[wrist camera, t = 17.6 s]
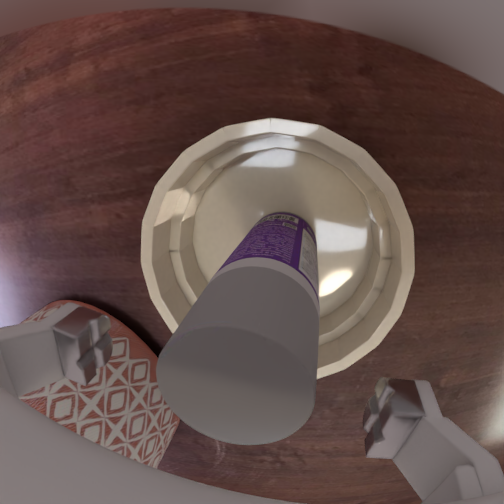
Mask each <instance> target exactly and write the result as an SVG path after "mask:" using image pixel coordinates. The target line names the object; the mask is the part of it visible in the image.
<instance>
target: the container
mask: <svg viewBox="0 0 504 504" xmlns="http://www.w3.org/2000/svg"><path fill="white" fill-rule="evenodd" d="M319 319H320V302H319V278H318V258H317V243H316V237H315V234H314V231H313V229H312V228H311V226H310V225H309V224H308V223H307V221H305V220H304V219H303V218H302V217H300V216H298V215H296V214H294V213H290V212H274V213H271V214H268V215H266V216H264V217H263V218H261V219H260V220H259V221H258V222H257V223H256V224H255V225H254V227H253V228H252V229H251V230H250V231H249V233H248V234H247V235H246V236H245V238H244V239H243V240H242V241H241V243H240V244H239V245H238V246H237V248H236V249H235V250H234V251H233V252H232V254H231V255H230V256H229V257H228V259H227V260H226V261H225V262H224V264H223V265H222V266H221V267H220V269H219V270H218V271H217V272H216V274H215V275H214V276H213V277H212V279H211V280H210V282H209V283H208V285H207V286H206V288H205V289H204V291H203V292H202V293H201V295H200V296H199V298H198V299H197V301H196V302H195V303H194V305H193V306H192V308H191V309H190V311H189V312H188V313H187V315H186V316H185V318H184V319H183V321H182V322H181V323H180V325H179V326H178V328H177V329H176V331H175V332H174V333H173V335H172V336H171V338H170V339H169V341H168V342H167V344H166V345H165V346H164V348H163V349H162V351H161V353H160V355H159V358H158V361H157V366H156V378H157V383H158V387H159V390H160V392H161V394H162V396H163V398H164V400H165V402H166V403H167V405H168V406H169V407H170V409H171V410H172V411H173V412H174V413H175V414H176V415H177V416H178V417H179V418H180V419H181V420H182V421H183V422H185V423H186V424H187V425H189V426H190V427H192V428H193V429H195V430H197V431H198V432H200V433H202V434H204V435H206V436H209V437H211V438H214V439H217V440H220V441H223V442H227V443H233V444H240V445H260V444H267V443H271V442H275V441H278V440H281V439H283V438H286V437H288V436H290V435H291V434H293V433H294V432H296V431H297V430H298V429H300V428H301V427H302V426H303V425H304V424H305V423H306V421H307V420H308V418H309V417H310V415H311V413H312V411H313V408H314V404H315V396H316V381H317V365H318V345H319Z"/></svg>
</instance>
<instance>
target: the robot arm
mask: <svg viewBox="0 0 504 504" xmlns="http://www.w3.org/2000/svg"><path fill="white" fill-rule="evenodd" d="M110 329H111V323H110V318H109V317H108V316H107V315H105V314H102V313H99V312H96V311H94V310H91V309H88V308H86V307H82V306H80V305H78V304H75V303H72V302H68V303H66V304H65V305H63V306H62V307H60V308H59V309H57V310H56V311H54V312H53V313H52V314H50V315H49V316H47V317H46V318H44V319H43V320H42V321H40V322H39V323H38V322H36V321H34V322H29V323H23V324H18V325H13V326H7V327H2V328H0V504H306V503H297V502H290V501H283V500H276V499H270V498H264V497H259V496H253V495H248V494H243V493H239V492H234V491H230V490H226V489H222V488H218V487H214V486H210V485H206V484H203V483H199V482H196V481H192V480H189V479H186V478H183V477H179V476H176V475H173V474H170V473H167V472H164V471H162V470H159V469H156V468H153V467H151V466H148V465H145V464H143V463H140V462H138V461H135V460H133V459H130V458H128V457H126V456H123V455H121V454H119V453H116V452H114V451H112V450H110V449H107V448H105V447H103V446H101V445H99V444H97V443H95V442H93V441H91V440H89V439H87V438H85V437H83V436H81V435H79V434H77V433H75V432H73V431H71V430H69V429H68V428H66V427H64V426H62V425H60V424H59V423H57V422H55V421H53V420H52V419H50V418H48V417H47V416H45V415H43V414H42V413H40V412H38V411H37V410H35V409H34V408H32V407H30V406H29V405H27V404H26V403H24V402H23V401H21V400H20V399H19V396H22V395H24V394H27V393H30V392H32V391H35V390H37V389H40V388H42V387H45V386H47V385H49V384H52V383H54V382H57V381H59V380H62V379H64V377H65V378H68V379H70V380H72V381H74V382H76V383H79V384H81V385H83V386H86V385H87V384H88V383H89V382H90V381H91V380H92V379H93V378H94V377H95V376H96V375H97V370H96V369H97V368H100V367H103V366H105V365H106V364H107V362H108V361H109V359H110V357H111V355H112V350H113V341H112V338H111V337H110V335H109V334H108V331H109V330H110ZM375 394H376V395H374V396H373V397H371V398H370V399H369V400H368V403H367V405H366V407H365V411H364V415H363V429H364V430H365V431H366V432H367V433H368V435H367V436H366V438H365V451H366V457H370V458H384V459H393V461H394V463H395V464H396V465H397V467H398V468H399V470H400V471H401V472H402V474H403V475H404V476H405V478H406V479H407V480H408V482H409V483H410V484H411V486H412V487H413V489H414V490H415V491H416V493H417V494H418V495H419V497H420V498H421V499H422V501H423V502H422V503H421V504H504V475H503V472H502V470H501V467H500V464H499V462H498V459H496V458H495V457H494V456H493V455H492V454H490V453H489V452H488V451H487V450H486V449H484V448H483V447H482V446H481V445H480V444H478V443H477V442H476V441H475V440H474V439H472V438H471V437H470V436H469V435H468V434H466V433H465V432H464V431H463V430H462V429H460V428H459V427H458V426H457V425H456V424H454V423H453V422H452V421H451V420H450V419H448V418H447V417H442V414H441V411H440V409H439V406H438V403H437V401H436V398H435V395H434V393H433V390H432V388H431V385H430V383H429V382H428V381H427V380H404V379H394V378H384V377H381V378H380V379H379V380H378V381H377V383H376V385H375Z"/></svg>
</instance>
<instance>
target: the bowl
mask: <svg viewBox="0 0 504 504" xmlns="http://www.w3.org/2000/svg"><path fill="white" fill-rule="evenodd" d="M274 212H290V213H294V214H296V215H298V216H300V217H302V218H303V219H304V220H305V221H307V223H308V224H309V225H310V226H311V228H312V229H313V231H314V234H315V237H316V243H317V258H318V278H319V302H320V319H319V345H318V365H317V379H319V378H322V377H324V376H327V375H330V374H333V373H336V372H339V371H342V370H344V369H346V368H348V367H349V366H351V365H352V364H353V363H355V362H356V361H358V360H359V359H360V358H362V357H363V356H365V355H366V354H367V353H369V352H370V351H371V350H373V349H374V348H376V347H377V346H378V345H379V344H380V343H381V341H382V340H383V339H384V337H385V336H386V335H387V333H388V332H389V331H390V329H391V328H392V327H393V325H394V324H395V322H396V321H397V320H398V318H399V317H400V316H401V314H402V311H403V308H404V305H405V302H406V299H407V296H408V293H409V290H410V287H411V284H412V281H413V277H414V273H415V252H414V230H413V226H412V223H411V220H410V218H409V215H408V212H407V210H406V207H405V205H404V202H403V200H402V197H401V195H400V192H399V190H398V188H397V186H396V184H395V183H394V182H393V181H392V179H391V178H390V177H389V176H388V175H387V174H386V172H385V171H384V170H383V169H382V168H381V167H380V166H379V164H378V163H377V162H376V161H375V160H374V159H373V158H372V157H371V156H370V155H369V153H368V152H367V151H366V150H365V149H363V148H362V147H360V146H358V145H356V144H355V143H353V142H351V141H349V140H347V139H346V138H344V137H342V136H340V135H338V134H336V133H335V132H333V131H331V130H329V129H327V128H325V127H323V126H320V125H317V124H312V123H306V122H299V121H293V120H286V119H279V118H265V119H259V120H254V121H249V122H244V123H239V124H234V125H229V126H225V127H224V128H220V129H219V130H217V131H215V132H214V133H212V134H210V135H208V136H207V137H205V138H203V139H202V140H200V141H198V142H197V143H195V144H193V145H192V146H190V147H189V148H187V149H185V151H183V152H182V153H181V155H180V156H179V157H178V158H177V159H176V160H175V162H174V163H173V164H172V165H171V167H170V168H169V169H168V170H167V171H166V173H165V174H164V175H163V176H162V178H161V179H160V180H159V181H158V183H157V184H156V186H155V188H154V191H153V193H152V196H151V199H150V202H149V204H148V207H147V210H146V213H145V215H144V218H143V221H142V234H141V266H142V270H143V273H144V277H145V281H146V284H147V288H148V291H149V295H150V298H151V300H152V302H153V304H154V305H155V307H156V308H157V310H158V312H159V313H160V315H161V316H162V318H163V320H164V321H165V323H166V324H167V326H168V327H169V329H170V331H171V332H172V333H174V332H175V331H176V329H177V328H178V326H179V325H180V323H181V322H182V321H183V319H184V318H185V316H186V315H187V313H188V312H189V311H190V309H191V308H192V306H193V305H194V303H195V302H196V301H197V299H198V298H199V296H200V295H201V293H202V292H203V291H204V289H205V288H206V286H207V285H208V283H209V282H210V280H211V279H212V277H213V276H214V275H215V274H216V272H217V271H218V270H219V269H220V267H221V266H222V265H223V264H224V262H225V261H226V260H227V259H228V257H229V256H230V255H231V254H232V252H233V251H234V250H235V249H236V248H237V246H238V245H239V244H240V243H241V241H242V240H243V239H244V238H245V236H246V235H247V234H248V233H249V231H250V230H251V229H252V228H253V227H254V225H255V224H256V223H257V222H258V221H259V220H260V219H261V218H263V217H264V216H266V215H268V214H271V213H274Z"/></svg>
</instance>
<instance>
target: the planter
mask: <svg viewBox="0 0 504 504" xmlns="http://www.w3.org/2000/svg"><path fill="white" fill-rule="evenodd" d="M68 302H72V303H75V304H78V305H80V306H82V307H86V308H88V309H91V310H94V311H96V312H99V313H102V314H105V315H107V316H108V317H109V318H110V323H111V329H110V330H109V331H108V334H109V335H110V337H111V338H112V341H113V350H112V355H111V357H110V359H109V361H108V362H107V364H106V365H105V366H103V367H100V368H97V369H96V370H97V375H96V376H95V377H94V378H93V379H92V380H91V381H90V382H89V383H88V384H87V385H86V386H83V385H81V384H79V383H76V382H74V381H72V380H70V379H68V378H65V377H64V379H62V380H59V381H57V382H54V383H52V384H49V385H47V386H45V387H42V388H40V389H37V390H35V391H32V392H30V393H27V394H24V395H22V396H19V399H20V400H21V401H23V402H24V403H26V404H27V405H29V406H30V407H32V408H34V409H35V410H37V411H38V412H40V413H42V414H43V415H45V416H47V417H48V418H50V419H52V420H53V421H55V422H57V423H59V424H60V425H62V426H64V427H66V428H68V429H69V430H71V431H73V432H75V433H77V434H79V435H81V436H83V437H85V438H87V439H89V440H91V441H93V442H95V443H97V444H99V445H101V446H103V447H105V448H107V449H110V450H112V451H114V452H116V453H119V454H121V455H123V456H126V457H128V458H130V459H133V460H135V461H138V462H140V463H143V464H145V465H148V466H151V467H153V468H157V466H158V464H159V462H160V460H161V459H162V457H163V455H164V453H165V451H166V449H167V447H168V445H169V443H170V441H171V439H172V437H173V435H174V433H175V431H176V429H177V427H178V425H179V421H180V418H179V417H178V416H177V415H176V414H175V413H174V412H173V411H172V410H171V409H170V407H169V406H168V405H167V403H166V402H165V400H164V398H163V396H162V394H161V392H160V390H159V387H158V383H157V378H156V366H157V361H158V357H157V356H156V355H155V354H154V353H153V351H152V350H151V349H150V348H149V347H148V346H147V345H146V343H145V342H144V341H142V340H141V339H140V338H139V337H138V336H137V335H136V334H135V333H134V332H133V331H132V330H131V329H129V328H128V327H127V326H125V325H124V324H123V323H122V322H120V321H119V320H117V319H116V318H114V317H113V316H111V315H110V314H108V313H106V312H105V311H103V310H100V309H98V308H96V307H94V306H92V305H89V304H86V303H83V302H80V301H73V300H58V301H55V302H52V303H50V304H48V305H47V306H45V307H43V308H42V309H40V310H39V311H37V312H36V313H34V314H33V315H31V316H30V317H28V318H27V319H26V320H24V321H23V322H21V323H20V324H23V323H29V322H34V321H36V322H38V323H39V322H40V321H42V320H43V319H44V318H46V317H47V316H49V315H50V314H52V313H53V312H54V311H56V310H57V309H59V308H60V307H62V306H63V305H65V304H66V303H68Z"/></svg>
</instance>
